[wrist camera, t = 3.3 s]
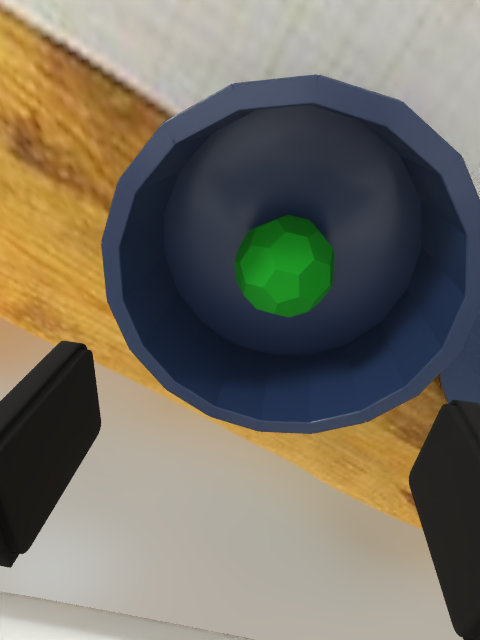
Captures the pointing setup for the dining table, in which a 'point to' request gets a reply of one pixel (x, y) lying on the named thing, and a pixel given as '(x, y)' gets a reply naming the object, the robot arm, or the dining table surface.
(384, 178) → the pot
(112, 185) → the dining table surface
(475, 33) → the dining table surface
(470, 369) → the lid
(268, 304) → the polyhedron
